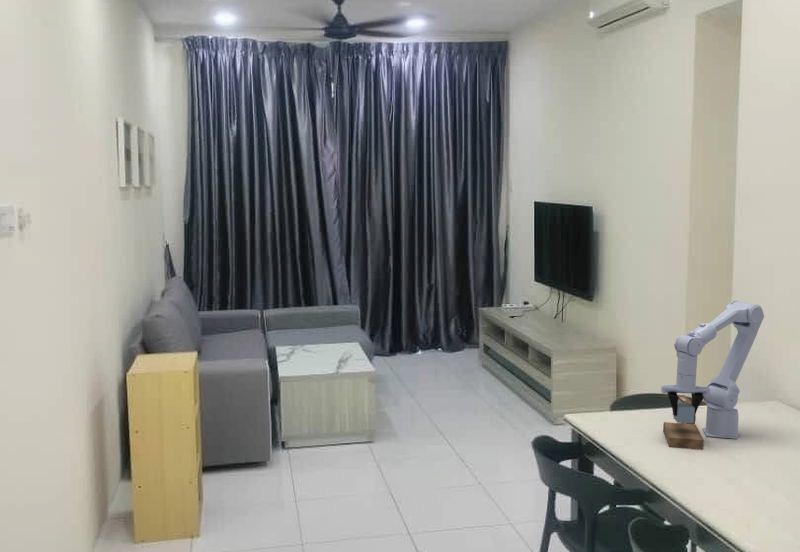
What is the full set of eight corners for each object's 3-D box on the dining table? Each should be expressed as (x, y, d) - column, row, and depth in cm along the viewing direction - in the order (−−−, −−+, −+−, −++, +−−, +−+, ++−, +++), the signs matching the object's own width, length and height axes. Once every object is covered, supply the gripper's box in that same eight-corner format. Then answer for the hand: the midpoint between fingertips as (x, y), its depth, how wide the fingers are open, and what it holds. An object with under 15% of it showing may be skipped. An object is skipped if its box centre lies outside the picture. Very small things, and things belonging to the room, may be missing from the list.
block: (689, 418, 258) (690, 403, 257) (693, 423, 253) (694, 407, 252) (673, 417, 258) (674, 402, 258) (677, 422, 254) (678, 407, 253)
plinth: (695, 433, 263) (695, 424, 263) (703, 449, 248) (703, 440, 247) (663, 430, 265) (663, 422, 265) (668, 446, 250) (669, 437, 249)
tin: (695, 429, 268) (697, 404, 267) (686, 429, 268) (687, 404, 267) (681, 415, 283) (682, 392, 282) (672, 415, 283) (673, 392, 282)
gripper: (706, 371, 257) (703, 412, 259) (659, 369, 258) (657, 410, 260) (713, 376, 250) (710, 419, 252) (665, 375, 251) (662, 417, 253)
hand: (683, 415), depth 256 cm, fingers closed on block, 5 cm apart
